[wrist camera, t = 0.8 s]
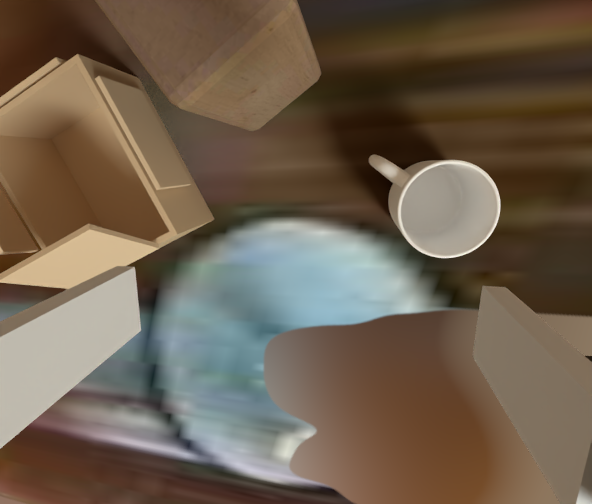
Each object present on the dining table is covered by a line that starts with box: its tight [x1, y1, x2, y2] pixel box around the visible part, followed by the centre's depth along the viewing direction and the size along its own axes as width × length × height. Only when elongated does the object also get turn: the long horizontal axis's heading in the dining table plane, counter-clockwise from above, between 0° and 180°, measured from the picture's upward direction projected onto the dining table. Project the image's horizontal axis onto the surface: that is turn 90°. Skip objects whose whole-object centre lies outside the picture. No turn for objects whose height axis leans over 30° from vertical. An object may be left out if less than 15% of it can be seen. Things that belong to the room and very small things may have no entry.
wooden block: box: [95, 0, 321, 131], centre depth 32 cm, size 10×10×20 cm
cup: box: [369, 155, 500, 258], centre depth 37 cm, size 8×12×10 cm
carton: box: [0, 54, 214, 290], centre depth 41 cm, size 19×15×10 cm
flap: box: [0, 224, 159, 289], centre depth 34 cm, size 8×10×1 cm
